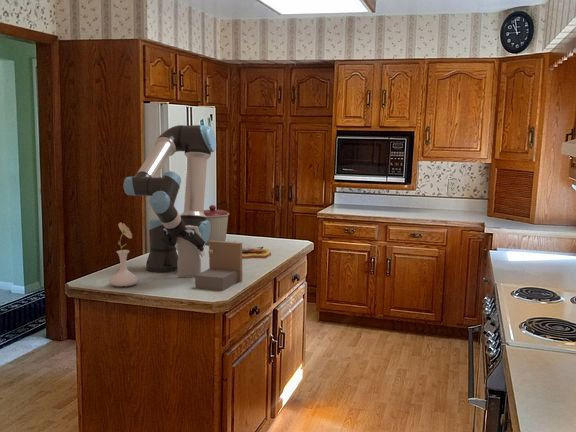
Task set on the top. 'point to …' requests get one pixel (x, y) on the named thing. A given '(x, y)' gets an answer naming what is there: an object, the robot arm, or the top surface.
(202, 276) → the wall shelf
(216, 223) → the canister
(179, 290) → the top surface
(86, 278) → the top surface
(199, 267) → the pale grey bottle shape
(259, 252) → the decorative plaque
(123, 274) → the flower in vase
